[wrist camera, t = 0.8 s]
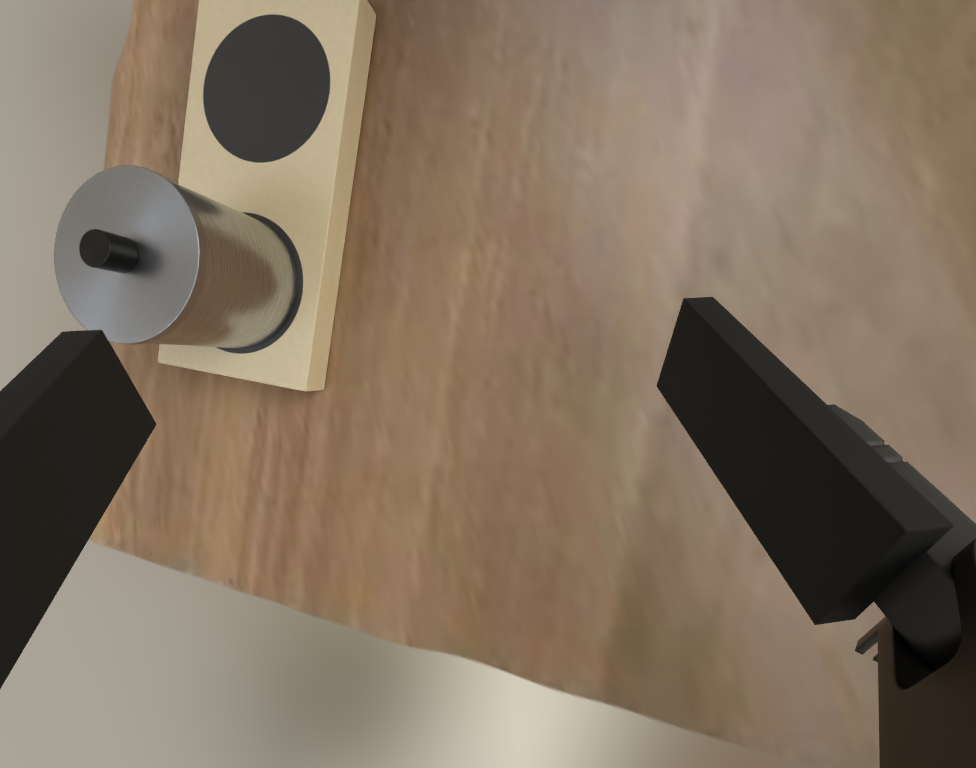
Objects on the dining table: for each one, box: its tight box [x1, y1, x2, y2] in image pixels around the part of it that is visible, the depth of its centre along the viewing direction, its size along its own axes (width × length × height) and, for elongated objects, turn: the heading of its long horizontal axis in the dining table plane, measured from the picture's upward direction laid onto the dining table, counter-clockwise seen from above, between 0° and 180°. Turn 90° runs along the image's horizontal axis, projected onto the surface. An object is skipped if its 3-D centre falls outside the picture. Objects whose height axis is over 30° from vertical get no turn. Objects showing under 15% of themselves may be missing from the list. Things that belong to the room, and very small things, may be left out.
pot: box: [54, 166, 298, 348], centre depth 30 cm, size 10×10×11 cm
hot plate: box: [158, 0, 376, 392], centre depth 36 cm, size 29×13×2 cm, turn 171°
